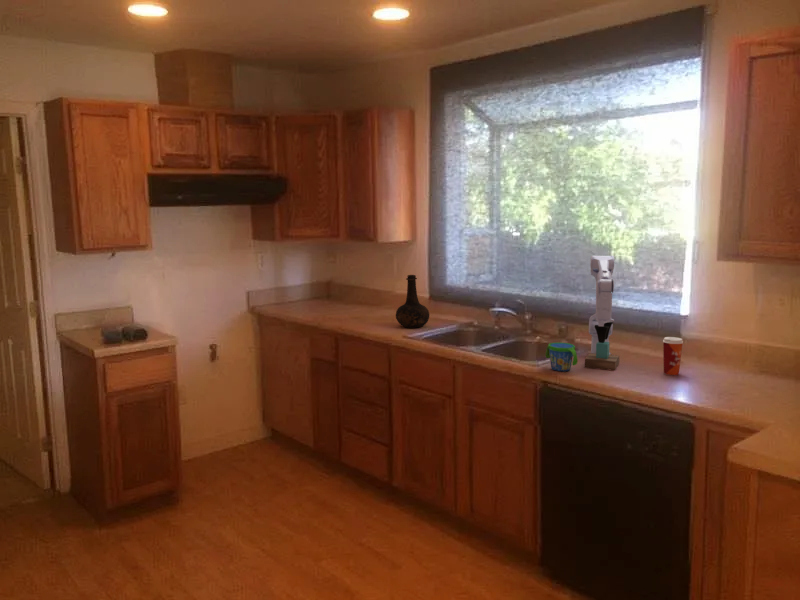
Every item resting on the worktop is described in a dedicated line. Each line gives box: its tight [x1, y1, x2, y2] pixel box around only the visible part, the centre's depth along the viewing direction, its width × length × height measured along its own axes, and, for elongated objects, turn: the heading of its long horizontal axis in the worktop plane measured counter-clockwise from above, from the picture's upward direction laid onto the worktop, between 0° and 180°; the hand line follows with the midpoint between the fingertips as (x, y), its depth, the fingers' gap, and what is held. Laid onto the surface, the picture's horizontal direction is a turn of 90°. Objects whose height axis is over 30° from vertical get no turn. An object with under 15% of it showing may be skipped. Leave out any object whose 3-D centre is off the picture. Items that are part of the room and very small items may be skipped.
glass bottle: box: [395, 274, 430, 329], centre depth 378 cm, size 18×18×28 cm
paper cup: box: [662, 336, 684, 376], centre depth 279 cm, size 8×8×14 cm
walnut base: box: [584, 352, 620, 371], centre depth 293 cm, size 12×12×4 cm
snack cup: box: [545, 342, 578, 372], centre depth 285 cm, size 16×10×10 cm
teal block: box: [596, 341, 610, 359], centre depth 292 cm, size 4×4×6 cm
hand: (603, 340), depth 291 cm, fingers open, 7 cm apart
